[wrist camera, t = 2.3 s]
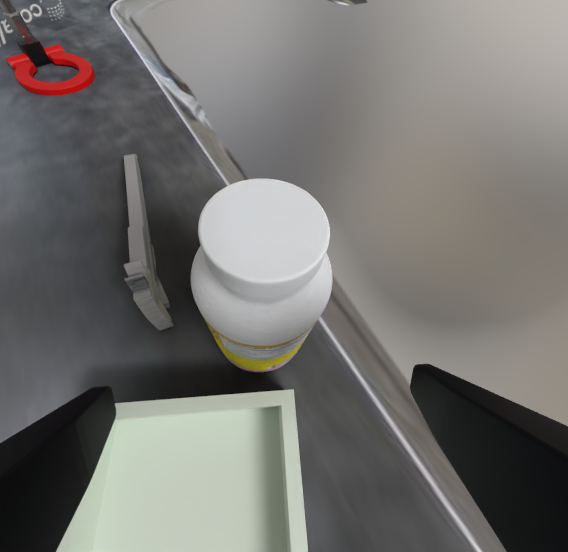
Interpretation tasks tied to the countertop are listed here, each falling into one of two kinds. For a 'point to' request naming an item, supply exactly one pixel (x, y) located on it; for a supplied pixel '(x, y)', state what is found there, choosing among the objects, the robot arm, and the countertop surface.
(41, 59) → the tow hook
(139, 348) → the countertop surface
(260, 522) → the sage tray
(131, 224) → the caliper
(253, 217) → the supplement bottle
